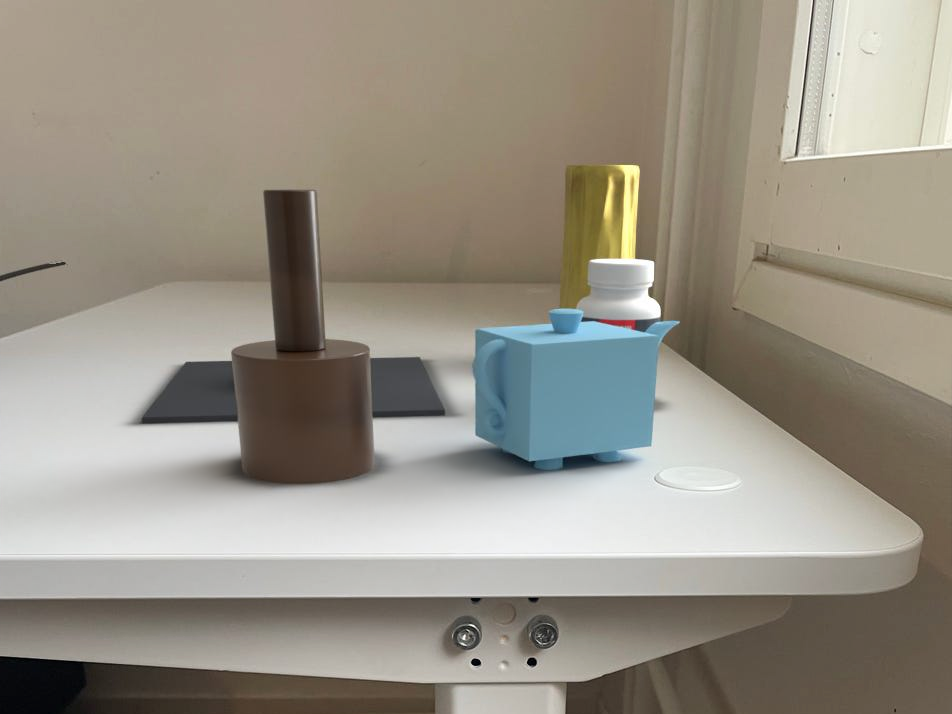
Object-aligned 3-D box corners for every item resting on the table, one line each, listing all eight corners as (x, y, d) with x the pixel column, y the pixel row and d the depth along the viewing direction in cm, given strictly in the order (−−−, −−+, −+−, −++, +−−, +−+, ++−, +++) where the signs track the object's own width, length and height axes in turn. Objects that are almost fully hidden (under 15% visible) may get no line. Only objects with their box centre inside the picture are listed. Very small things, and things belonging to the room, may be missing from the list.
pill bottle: (589, 418, 63) (596, 265, 59) (559, 401, 67) (564, 258, 64) (667, 413, 64) (679, 263, 60) (633, 397, 69) (642, 256, 65)
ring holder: (248, 456, 54) (222, 189, 49) (372, 452, 55) (361, 188, 50) (237, 490, 48) (207, 190, 43) (377, 485, 49) (364, 190, 44)
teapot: (638, 433, 59) (647, 297, 56) (703, 457, 54) (716, 309, 51) (449, 455, 54) (448, 308, 51) (501, 484, 49) (503, 322, 46)
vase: (593, 379, 75) (603, 164, 69) (536, 368, 79) (541, 165, 73) (649, 370, 78) (663, 165, 72) (592, 360, 82) (601, 165, 76)
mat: (186, 369, 78) (185, 361, 78) (420, 364, 81) (419, 356, 80) (142, 427, 60) (141, 417, 60) (445, 419, 62) (445, 409, 62)
